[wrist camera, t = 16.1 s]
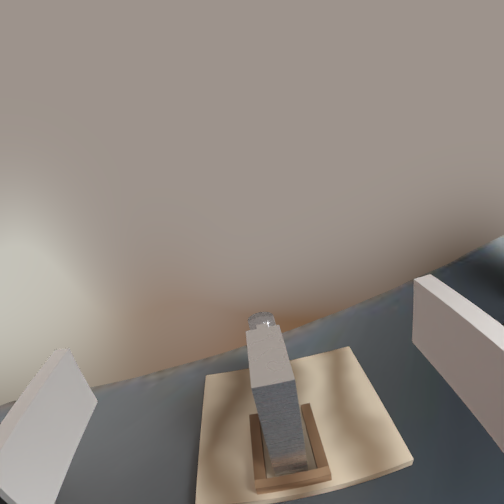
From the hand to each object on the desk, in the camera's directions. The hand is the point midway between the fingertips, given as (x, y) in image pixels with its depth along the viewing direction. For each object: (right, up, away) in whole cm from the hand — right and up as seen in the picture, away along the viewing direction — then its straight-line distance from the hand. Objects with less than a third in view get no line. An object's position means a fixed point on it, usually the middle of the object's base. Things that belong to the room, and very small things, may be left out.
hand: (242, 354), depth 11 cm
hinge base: (+5, -15, +21) cm, 26 cm away
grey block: (+4, -15, +18) cm, 24 cm away
